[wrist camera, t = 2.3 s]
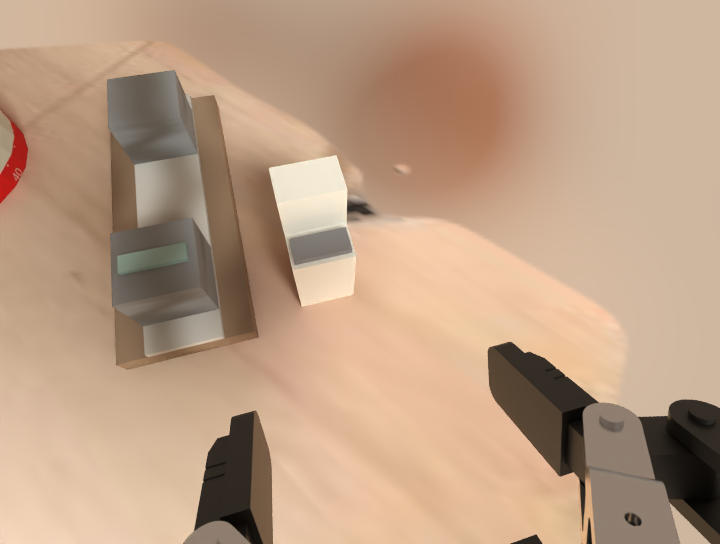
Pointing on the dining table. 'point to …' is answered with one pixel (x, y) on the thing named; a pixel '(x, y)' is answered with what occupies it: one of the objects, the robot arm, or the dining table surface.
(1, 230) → the dining table surface
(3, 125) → the kitchen timer
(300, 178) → the block
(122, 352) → the rail plate
